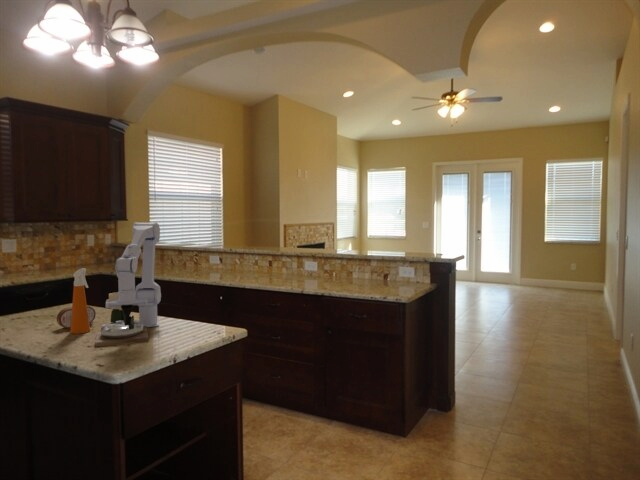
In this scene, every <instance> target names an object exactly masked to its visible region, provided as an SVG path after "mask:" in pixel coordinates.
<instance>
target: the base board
mask: <svg viewBox="0 0 640 480" xmlns="http://www.w3.org/2000/svg"><path fill="white" fill-rule="evenodd" d="M143 342H144V343H145V342H149V335H148V327H147V326H143V332H142V333H141V334H139V335H136V336H132V337H127V338H104V337H102V336H101V329H99V330H97V334H96V338H95V341H94V346H95V348H96V347H107V346H113V345H114V346H115V345H125V344H133V343H143Z"/></svg>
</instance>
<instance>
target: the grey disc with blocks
mask: <svg viewBox="0 0 640 480" xmlns="http://www.w3.org/2000/svg"><path fill="white" fill-rule="evenodd" d="M129 321H130V325H126V326H125V324H124V321H122V320H121V321H116V323H110V324H107V323H106V324H105V323H104V324H102V325H100V326H101V327H100V330H101V336H102V337H104V338H127V337H132V336H136V335H139V334H141V333H142V332H143V324H141V323H140V321H139V320H137V319H136V320H135V316H134V314H133V315H131V314H130V316H129Z"/></svg>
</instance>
